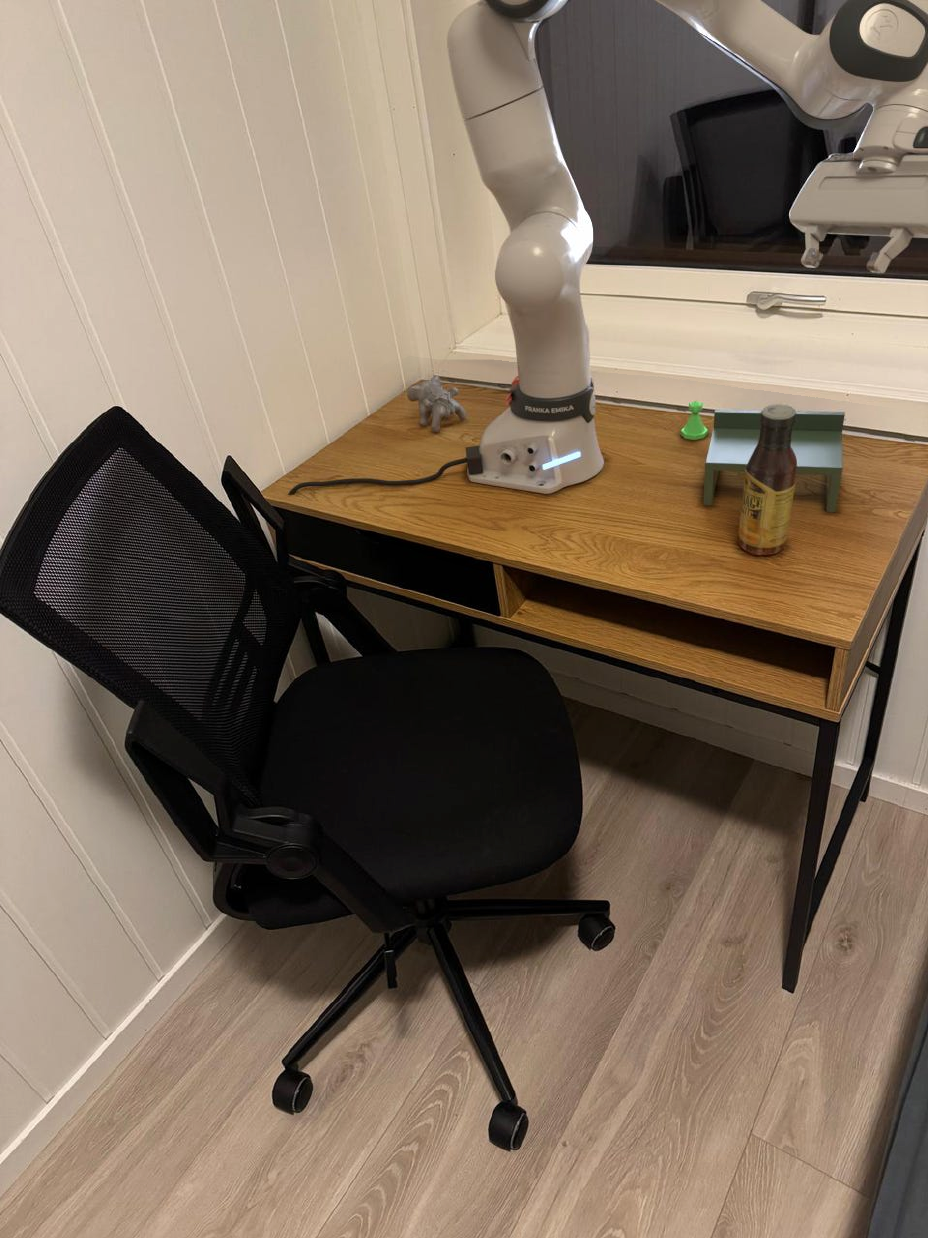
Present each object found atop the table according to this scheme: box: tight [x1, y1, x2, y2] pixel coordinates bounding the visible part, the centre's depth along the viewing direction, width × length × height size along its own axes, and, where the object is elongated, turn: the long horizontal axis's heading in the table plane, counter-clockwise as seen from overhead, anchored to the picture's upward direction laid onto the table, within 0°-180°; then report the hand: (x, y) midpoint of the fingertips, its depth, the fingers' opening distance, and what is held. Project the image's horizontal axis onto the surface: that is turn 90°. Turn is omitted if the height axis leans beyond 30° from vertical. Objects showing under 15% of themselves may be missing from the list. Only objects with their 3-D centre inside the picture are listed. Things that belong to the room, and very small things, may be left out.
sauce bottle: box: [738, 403, 797, 557], centre depth 109 cm, size 6×6×20 cm
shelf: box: [702, 409, 846, 513], centre depth 124 cm, size 18×12×10 cm, turn 71°
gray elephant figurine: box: [406, 375, 467, 434], centre depth 158 cm, size 9×12×8 cm
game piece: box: [680, 400, 709, 441], centre depth 142 cm, size 4×4×6 cm
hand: (840, 268), depth 102 cm, fingers open, 8 cm apart
